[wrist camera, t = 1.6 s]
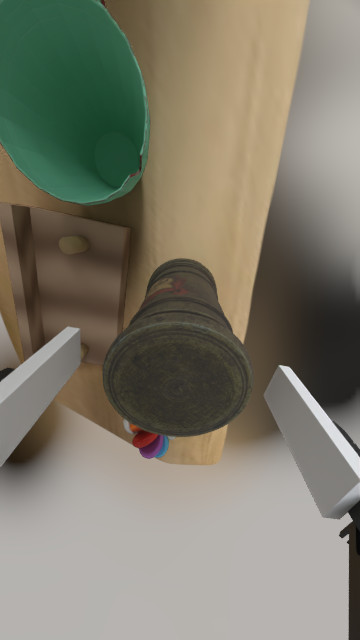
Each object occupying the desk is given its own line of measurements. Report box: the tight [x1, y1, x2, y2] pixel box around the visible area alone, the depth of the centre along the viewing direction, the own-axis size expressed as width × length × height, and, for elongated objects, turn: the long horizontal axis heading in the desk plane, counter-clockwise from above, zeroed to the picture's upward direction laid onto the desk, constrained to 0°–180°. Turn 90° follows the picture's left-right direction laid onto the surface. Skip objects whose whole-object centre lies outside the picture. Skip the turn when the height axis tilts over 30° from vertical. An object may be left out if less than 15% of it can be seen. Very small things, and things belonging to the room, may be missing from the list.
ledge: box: [0, 202, 131, 365], centre depth 24 cm, size 19×11×6 cm, turn 168°
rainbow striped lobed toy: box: [123, 419, 176, 459], centre depth 34 cm, size 8×10×7 cm
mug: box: [0, 0, 150, 206], centre depth 15 cm, size 15×10×10 cm
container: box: [103, 259, 253, 437], centre depth 19 cm, size 9×9×18 cm
